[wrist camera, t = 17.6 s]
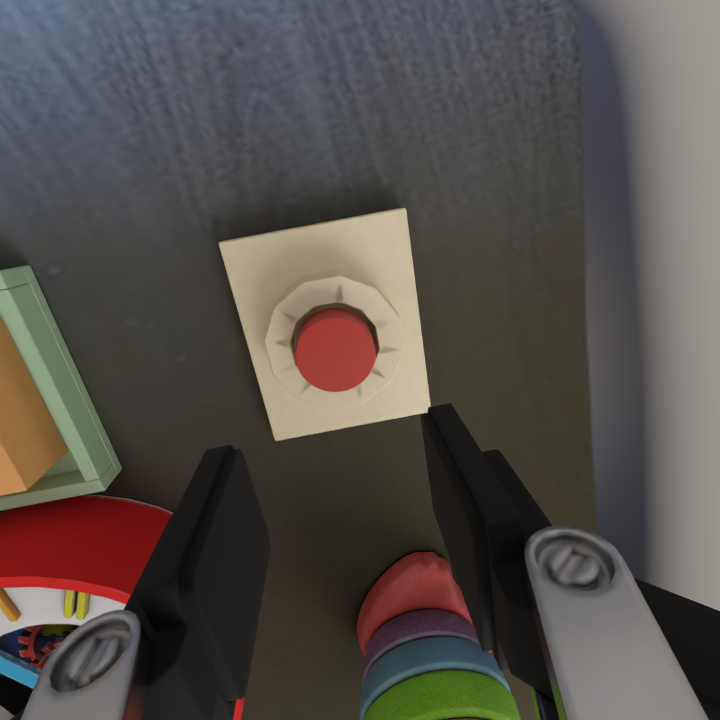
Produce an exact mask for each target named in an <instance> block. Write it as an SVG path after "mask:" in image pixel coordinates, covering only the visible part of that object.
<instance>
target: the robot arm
mask: <svg viewBox="0 0 720 720" xmlns="http://www.w3.org/2000/svg"><path fill="white" fill-rule="evenodd" d="M421 423H422V431H423V438H424V445H425V453H426V460H427V468H428V475H429V482H430V490H431V497H432V504H433V509H434V513H435V516H436V520H437V522H438V525H439V528H440V531H441V534H442V537H443V540H444V543H445V546H446V548H447V551H448V554H449V557H450V560H451V563H452V566H453V569H454V571H455V574H456V577H457V580H458V583H459V586H460V589H461V592H462V595H463V597H464V600H465V603H466V606H467V609H468V612H469V615H470V618H471V620H472V623H473V626H474V629H475V632H476V635H477V638H478V641H479V644H480V646H481V649H482V651H483V652H487V651H493V653H494V656H495V659H496V661H497V664H498V667H499V669H500V670H504V669H510V672H511V674H512V675H514V676H515V677H517V678H519V679H520V680H522V681H523V682H525V683H527V684H528V685H530V689H531V694H532V699H533V704H534V708H535V713H536V718H537V720H720V611H718V610H715V609H713V608H710V607H707V606H705V605H702V604H700V603H697V602H695V601H692V600H690V599H687V598H684V597H682V596H679V595H677V594H674V593H671V592H669V591H666V590H664V589H661V588H659V587H656V586H654V585H651V584H649V583H646V582H643V581H641V580H638V579H636V578H633V576H632V574H631V572H630V571H629V569H628V567H627V565H626V563H625V561H624V559H623V558H622V557H621V555H620V554H619V553H618V551H617V550H616V549H615V547H614V546H612V545H611V544H610V543H608V542H607V541H606V540H605V539H604V538H602V537H600V536H598V535H596V534H594V533H592V532H590V531H588V530H584V529H581V528H577V527H574V526H562V525H559V526H552V525H551V523H550V522H549V520H548V519H547V517H546V516H545V515H544V513H543V512H542V510H541V509H540V507H539V506H538V505H537V503H536V502H535V500H534V499H533V498H532V496H531V495H530V493H529V492H528V490H527V489H526V488H525V486H524V485H523V483H522V482H521V480H520V479H519V478H518V476H517V475H516V473H515V472H514V471H513V469H512V468H511V466H510V465H509V463H508V462H507V461H506V459H505V458H504V456H503V455H502V454H501V452H500V451H499V450H496V449H495V450H490V451H484V452H481V450H480V449H479V447H478V446H477V444H476V442H475V441H474V439H473V438H472V436H471V434H470V433H469V431H468V430H467V428H466V426H465V425H464V423H463V422H462V420H461V418H460V417H459V415H458V414H457V412H456V410H455V409H454V407H453V406H452V404H451V403H449V404H444V405H438V406H433V407H428V414H422V415H421ZM269 553H270V536H269V532H268V529H267V526H266V523H265V520H264V517H263V514H262V511H261V508H260V505H259V501H258V498H257V495H256V492H255V489H254V486H253V483H252V480H251V477H250V474H249V471H248V467H247V464H246V461H245V458H244V455H243V453H242V451H241V450H240V449H238V450H235V449H234V448H233V446H231V445H228V446H222V447H217V448H212V449H207V450H206V452H205V453H204V455H203V457H202V459H201V461H200V463H199V465H198V467H197V469H196V471H195V473H194V475H193V477H192V479H191V481H190V483H189V485H188V487H187V489H186V491H185V493H184V495H183V497H182V499H181V501H180V503H179V505H178V507H177V509H176V511H175V512H174V513H173V514H172V516H171V517H170V519H169V521H168V523H167V525H166V527H165V529H164V531H163V533H162V535H161V537H160V539H159V541H158V543H157V545H156V547H155V549H154V550H153V552H152V554H151V556H150V558H149V560H148V562H147V564H146V566H145V568H144V570H143V572H142V574H141V576H140V578H139V580H138V582H137V584H136V586H135V588H134V590H133V592H132V594H131V596H130V598H129V600H128V602H127V604H126V606H125V608H124V610H114V611H110V612H106V613H103V614H101V615H99V616H97V617H95V618H92V619H90V620H89V621H87V622H86V623H84V624H83V625H81V626H80V627H78V628H77V629H75V630H74V631H73V632H72V633H71V634H70V635H69V636H67V637H66V638H65V639H64V640H63V641H62V642H61V643H60V644H59V645H58V646H57V648H56V649H55V650H54V651H53V653H52V654H51V655H50V656H49V658H48V659H47V661H46V663H45V665H44V667H43V668H42V670H41V672H40V674H39V677H38V679H37V682H36V684H35V686H34V689H33V691H32V693H31V696H30V698H29V700H28V703H27V705H26V708H24V709H23V710H22V711H21V712H19V713H18V714H17V715H15V716H14V717H13V718H12V719H10V720H233V717H234V712H235V706H236V701H237V700H240V699H243V698H244V696H245V694H246V689H247V684H248V678H249V672H250V666H251V660H252V654H253V648H254V642H255V636H256V630H257V624H258V619H259V613H260V607H261V601H262V595H263V589H264V583H265V577H266V571H267V565H268V559H269Z"/></svg>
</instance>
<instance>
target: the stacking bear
mask: <svg viewBox="0 0 720 720" xmlns="http://www.w3.org/2000/svg"><path fill="white" fill-rule="evenodd" d="M357 635H358V640H359V644H360V647H361V650H362V652H363V654H364V656H365V660H364V668H363V684H362V688H361V700H360V720H520V716H519V712H518V709H517V706H516V703H515V700H514V698H513V696H512V694H511V691H510V688H509V686H508V684H507V682H506V680H505V678H504V676H503V673H502V671H501V670H500V669H499V667H498V664H497V663H496V661H495V659H494V658H493V656H492V655H491V654H490V653H491V652H493V651H487V652H483V651H482V649H481V646H480V644H479V641H478V638H477V635H476V632H475V629H474V626H473V623H472V620H471V618H470V615H469V612H468V609H467V606H466V603H465V600H464V597H463V595H462V592H461V589H460V586H459V585H457V583H456V582H455V581H454V579H453V577H452V572H451V568H450V566H449V563H448V562H447V561H446V560H445V559H443V558H441V557H439V556H437V554H436V553H434V552H423V553H421V552H416V553H412V554H409V555H407V556H405V557H403V558H402V559H400V560H399V561H398V562H396V563H395V564H394V565H393V566H391V567H390V568H389V569H388V570H387V571H386V572H385V573H384V574H383V575H382V576H381V577H380V578H379V579H378V580H377V582H376V583H375V584H374V585H373V587H372V588H371V590H370V591H369V593H368V595H367V596H366V598H365V600H364V602H363V604H362V607H361V610H360V613H359V617H358V622H357Z"/></svg>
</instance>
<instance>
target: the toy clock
mask: <svg viewBox="0 0 720 720" xmlns="http://www.w3.org/2000/svg"><path fill="white" fill-rule="evenodd" d="M172 514H173V512H170V511H168V510H166V509H163V508H161V507H158V506H155V505H151V504H147V503H143V502H140V501H136V500H132V499H128V498H120V497H112V496H104V495H80V496H75V497H70V498H65V499H59V500H54V501H49V502H44V503H38V504H33V505H28V506H23V507H17V508H12V509H9V510H7V511H5V512H3V513H1V514H0V720H10V719H12V718H13V717H14V716H15V715H17V714H18V713H19V712H21V711H22V710H23V709H24V708H26V705H27V703H28V700H29V698H30V696H31V693H32V691H33V689H34V686H35V684H36V682H37V679H38V677H39V674H40V672H41V670H42V668H43V667H44V665H45V663H46V661H47V659H48V658H49V656H50V655H51V654H52V653H53V651H54V650H55V649H56V648H57V646H58V645H59V644H60V643H61V642H62V641H63V640H64V639H65V638H66V637H67V636H69V635H70V634H71V633H72V632H73V631H74V630H75V629H77V628H78V627H80V626H81V625H83V624H84V623H86V622H87V621H89V620H90V619H92V618H95V617H97V616H99V615H101V614H103V613H106V612H110V611H114V610H124V608H125V606H126V604H127V602H128V600H129V598H130V596H131V594H132V592H133V590H134V588H135V586H136V584H137V582H138V580H139V578H140V576H141V574H142V572H143V570H144V568H145V566H146V564H147V562H148V560H149V558H150V556H151V554H152V552H153V550H154V549H155V547H156V545H157V543H158V541H159V539H160V537H161V535H162V533H163V531H164V529H165V527H166V525H167V523H168V521H169V519H170V517H171V516H172ZM244 698H245V696H244ZM244 698H243V699H240V700H237V701H236V706H235V712H234V717H233V720H241V715H242V709H243V703H244Z"/></svg>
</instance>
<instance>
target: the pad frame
mask: <svg viewBox="0 0 720 720" xmlns="http://www.w3.org/2000/svg"><path fill="white" fill-rule="evenodd" d="M0 316H1V318H2V320H3V322H4V324H5V326H6V328H7V330H8V332H9V334H10V336H11V338H12V340H13V342H14V344H15V346H16V348H17V350H18V352H19V354H20V356H21V358H22V360H23V362H24V364H25V366H26V368H27V370H28V372H29V374H30V376H31V378H32V380H33V382H34V384H35V386H36V387H37V389H38V391H39V393H40V395H41V397H42V399H43V401H44V403H45V405H46V407H47V409H48V411H49V413H50V415H51V417H52V419H53V421H54V423H55V425H56V427H57V429H58V431H59V433H60V435H61V437H62V439H63V441H64V443H65V445H66V447H67V449H68V452H67V453H66V454H65V455H64V456H63V457H62V458H61V459H59V460H58V461H57V462H56V463H55V464H54V465H53V466H52V467H51V468H50V469H49V470H48V471H47V472H46V473H45V474H44V475H42V476H41V477H40V478H39V479H38V480H37V481H36V482H35V483H34V484H33V485H32V486H31V487H30V488H29V489H28V490H26V491H21V492H16V493H11V494H6V495H0V511H1V510H7V509H12V508H17V507H23V506H28V505H33V504H38V503H44V502H49V501H54V500H59V499H65V498H70V497H75V496H80V495H86V494H91V493H96V492H101V491H105V490H106V489H107V487H108V486H109V485H110V484H111V482H112V481H113V480H114V478H115V477H116V476H117V474H119V472H120V471H121V470H122V467H121V465H120V462H119V460H118V458H117V456H116V454H115V451H114V449H113V447H112V445H111V443H110V440H109V438H108V436H107V434H106V432H105V429H104V427H103V425H102V423H101V421H100V418H99V416H98V414H97V412H96V410H95V407H94V405H93V403H92V401H91V399H90V396H89V394H88V392H87V390H86V388H85V385H84V383H83V381H82V379H81V377H80V374H79V372H78V370H77V368H76V366H75V363H74V361H73V359H72V357H71V355H70V352H69V350H68V348H67V346H66V343H65V341H64V339H63V337H62V335H61V332H60V330H59V328H58V326H57V324H56V321H55V319H54V317H53V315H52V313H51V310H50V308H49V306H48V304H47V302H46V299H45V297H44V295H43V293H42V291H41V288H40V286H39V284H38V282H37V280H36V277H35V275H34V273H33V271H32V269H31V266H30V265H26V266H20V267H15V268H10V269H4V270H0Z"/></svg>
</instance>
